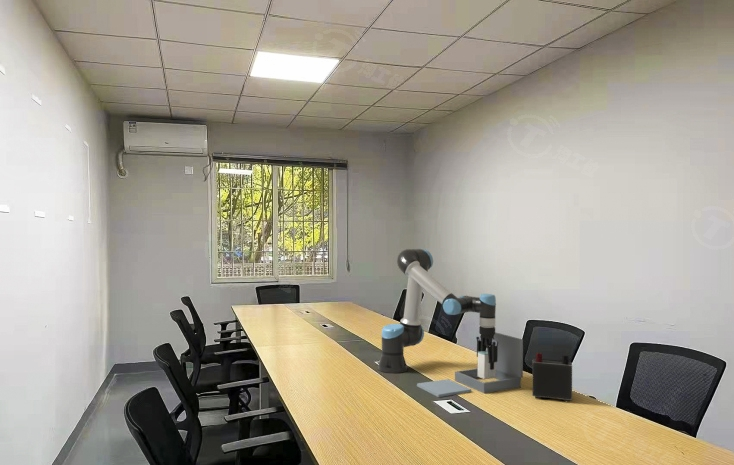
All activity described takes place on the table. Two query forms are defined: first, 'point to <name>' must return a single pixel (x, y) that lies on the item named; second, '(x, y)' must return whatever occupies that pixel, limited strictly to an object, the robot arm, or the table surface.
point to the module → (484, 365)
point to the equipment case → (499, 367)
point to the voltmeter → (552, 378)
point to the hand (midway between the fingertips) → (486, 374)
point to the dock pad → (443, 388)
